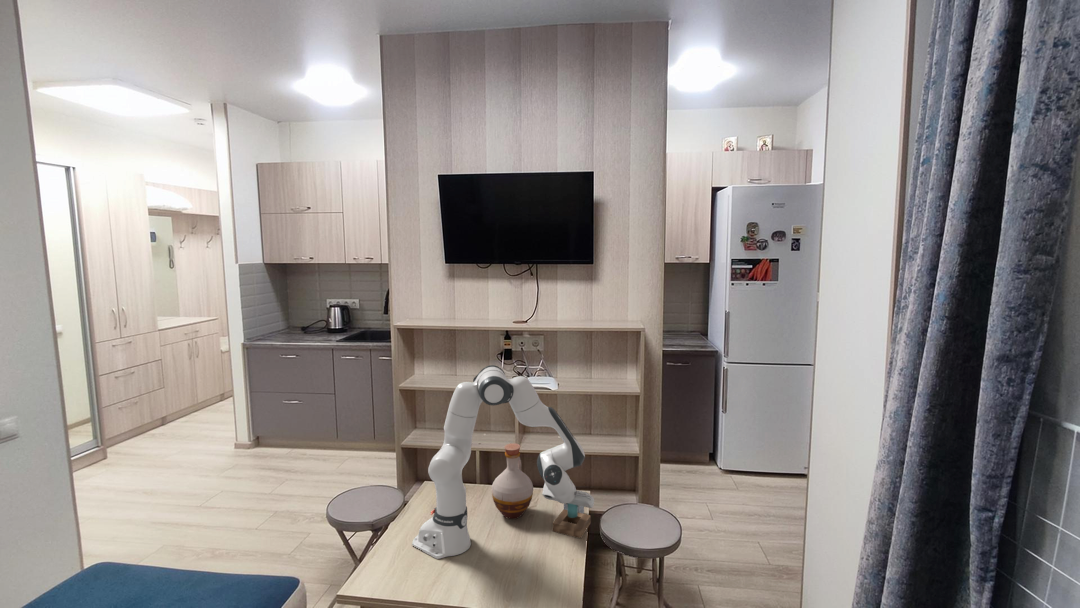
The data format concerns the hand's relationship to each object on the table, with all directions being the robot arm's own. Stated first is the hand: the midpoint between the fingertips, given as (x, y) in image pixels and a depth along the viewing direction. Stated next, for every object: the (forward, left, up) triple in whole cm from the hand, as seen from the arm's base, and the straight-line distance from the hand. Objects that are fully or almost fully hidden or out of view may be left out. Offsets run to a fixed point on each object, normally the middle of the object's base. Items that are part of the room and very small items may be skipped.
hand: (573, 503), depth 192 cm
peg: (0, -1, -5) cm, 5 cm away
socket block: (0, -1, -10) cm, 10 cm away
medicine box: (-4, +10, -10) cm, 15 cm away
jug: (-27, -1, -10) cm, 29 cm away
